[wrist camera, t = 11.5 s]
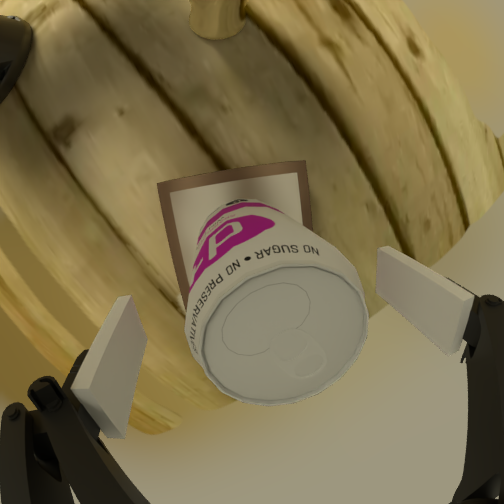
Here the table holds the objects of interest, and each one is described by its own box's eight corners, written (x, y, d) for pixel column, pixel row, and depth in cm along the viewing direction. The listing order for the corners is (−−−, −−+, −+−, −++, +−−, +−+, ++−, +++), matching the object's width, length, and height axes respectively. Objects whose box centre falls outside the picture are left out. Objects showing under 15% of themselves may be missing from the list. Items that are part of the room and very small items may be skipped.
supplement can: (178, 239, 24) (137, 341, 9) (252, 178, 23) (320, 195, 9) (237, 303, 26) (266, 433, 12) (306, 248, 25) (403, 338, 11)
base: (190, 300, 30) (187, 319, 26) (164, 181, 26) (156, 183, 22) (304, 278, 31) (317, 294, 27) (292, 161, 27) (306, 160, 23)
